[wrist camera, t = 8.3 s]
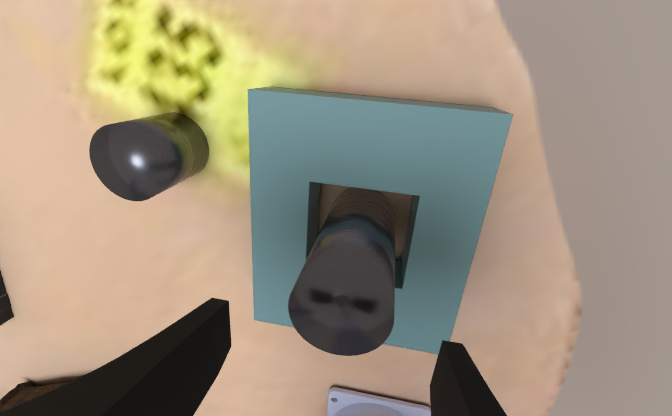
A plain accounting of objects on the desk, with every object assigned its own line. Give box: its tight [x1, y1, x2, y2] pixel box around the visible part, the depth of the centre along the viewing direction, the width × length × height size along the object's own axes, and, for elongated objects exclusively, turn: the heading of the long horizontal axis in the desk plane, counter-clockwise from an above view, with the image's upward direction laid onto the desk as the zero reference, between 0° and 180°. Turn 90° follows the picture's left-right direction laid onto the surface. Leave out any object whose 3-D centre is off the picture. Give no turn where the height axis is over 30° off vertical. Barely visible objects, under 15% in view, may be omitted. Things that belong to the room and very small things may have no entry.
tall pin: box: [288, 188, 395, 356], centre depth 16 cm, size 4×4×9 cm
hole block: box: [248, 87, 513, 354], centre depth 19 cm, size 14×12×3 cm
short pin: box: [90, 113, 209, 201], centre depth 19 cm, size 4×4×4 cm
